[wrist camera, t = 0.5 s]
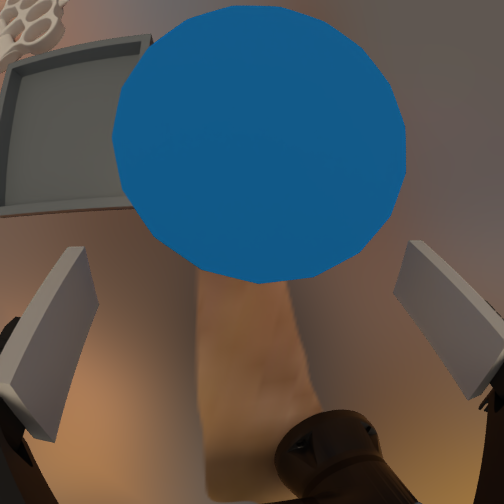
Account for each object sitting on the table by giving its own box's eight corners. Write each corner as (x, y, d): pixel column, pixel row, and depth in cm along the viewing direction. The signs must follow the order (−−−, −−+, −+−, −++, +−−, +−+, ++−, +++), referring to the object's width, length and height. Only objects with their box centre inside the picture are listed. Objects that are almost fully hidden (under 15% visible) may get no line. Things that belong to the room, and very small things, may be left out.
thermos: (184, 145, 33) (144, -6, 9) (279, 154, 35) (400, 37, 10) (174, 243, 34) (92, 277, 9) (271, 251, 35) (400, 295, 11)
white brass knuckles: (-16, 31, 27) (52, -23, 28) (5, 90, 29) (87, 24, 30) (-25, 23, 24) (46, -34, 25) (-6, 82, 26) (80, 11, 27)
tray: (145, 208, 33) (137, 205, 29) (3, 217, 31) (-15, 217, 27) (155, 50, 32) (151, 33, 28) (21, 75, 29) (8, 64, 25)
